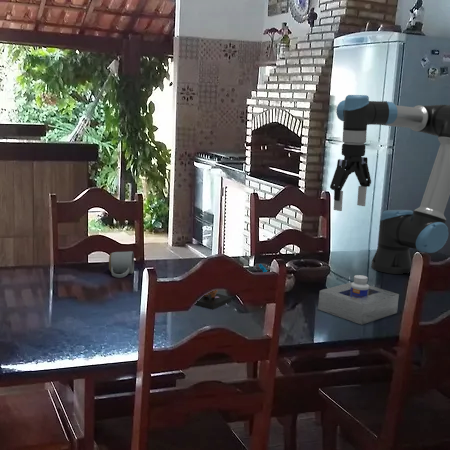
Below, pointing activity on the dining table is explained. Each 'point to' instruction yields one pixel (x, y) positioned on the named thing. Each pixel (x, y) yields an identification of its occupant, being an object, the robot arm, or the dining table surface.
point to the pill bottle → (359, 287)
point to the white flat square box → (358, 303)
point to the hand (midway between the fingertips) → (349, 208)
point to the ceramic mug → (121, 263)
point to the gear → (262, 268)
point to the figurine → (213, 300)
